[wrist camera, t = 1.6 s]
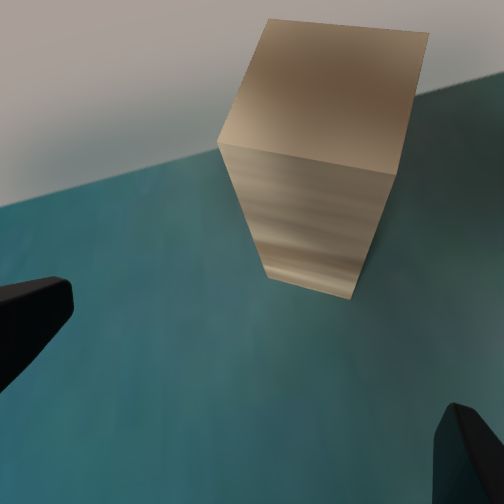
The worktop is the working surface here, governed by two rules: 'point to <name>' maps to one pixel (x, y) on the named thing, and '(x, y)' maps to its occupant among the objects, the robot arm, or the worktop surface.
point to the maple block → (320, 145)
